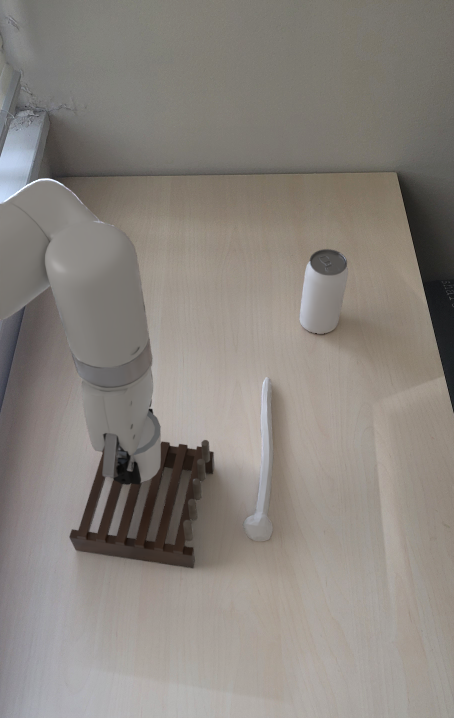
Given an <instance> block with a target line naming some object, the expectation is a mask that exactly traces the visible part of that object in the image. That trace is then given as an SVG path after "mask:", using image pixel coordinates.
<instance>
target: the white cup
mask: <svg viewBox="0 0 454 718" xmlns="http://www.w3.org/2000/svg"><path fill="white" fill-rule="evenodd" d="M161 427H162V426H161V423H160V422H159V419H158V417H157V416H156V415H155V414H154V413H153V414H152V413H151V412H150V411H149V410H148V414H147V417H146V421H145V425H144V428H143V431H142V435H141V438H140V442H139V445H138V448H137V450H136V452H135V453H134V462H137V463H138V468H139V472H140V477H141V482H142V483H144V482H147V481H151V479H152V477H154V476H155V475H156V474H157V472H158V470H159V469H160V463H161V439H162V434H161V433H162V431H161V429H162V428H161ZM126 453H127V452H121V451H119V453H118V458H125V459H127V455H126Z"/></svg>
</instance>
